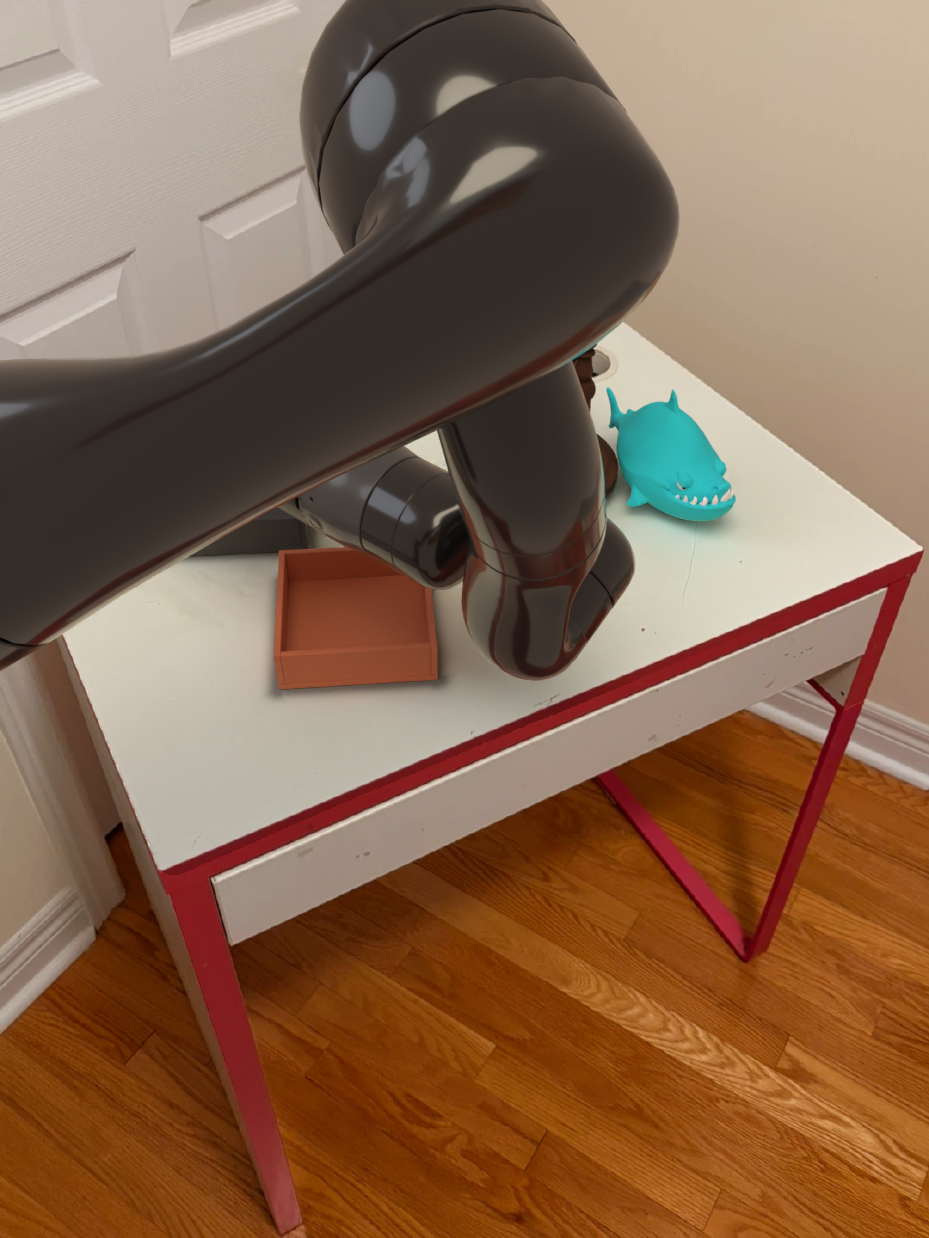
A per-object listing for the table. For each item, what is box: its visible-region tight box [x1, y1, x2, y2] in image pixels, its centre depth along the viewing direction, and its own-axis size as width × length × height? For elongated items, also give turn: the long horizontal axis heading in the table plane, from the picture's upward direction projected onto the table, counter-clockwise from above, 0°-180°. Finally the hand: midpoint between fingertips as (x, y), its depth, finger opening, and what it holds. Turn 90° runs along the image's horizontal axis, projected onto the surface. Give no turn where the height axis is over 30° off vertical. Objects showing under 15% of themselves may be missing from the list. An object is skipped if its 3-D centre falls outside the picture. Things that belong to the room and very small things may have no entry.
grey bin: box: [188, 507, 310, 558], centre depth 93 cm, size 12×12×4 cm
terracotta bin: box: [273, 546, 439, 690], centre depth 82 cm, size 12×12×4 cm
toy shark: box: [605, 386, 737, 522], centre depth 93 cm, size 10×18×11 cm, turn 30°
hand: (180, 391), depth 76 cm, fingers closed on milkshake, 4 cm apart
